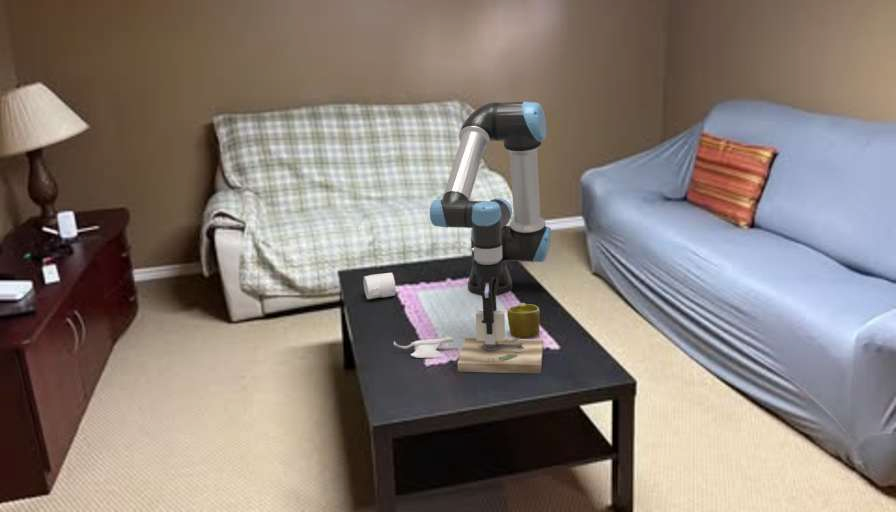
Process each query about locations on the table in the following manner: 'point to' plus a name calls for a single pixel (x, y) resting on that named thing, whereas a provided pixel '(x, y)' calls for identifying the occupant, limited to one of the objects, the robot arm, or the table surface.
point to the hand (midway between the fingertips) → (491, 340)
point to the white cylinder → (379, 285)
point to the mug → (524, 320)
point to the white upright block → (499, 331)
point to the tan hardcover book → (502, 357)
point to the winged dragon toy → (426, 347)
